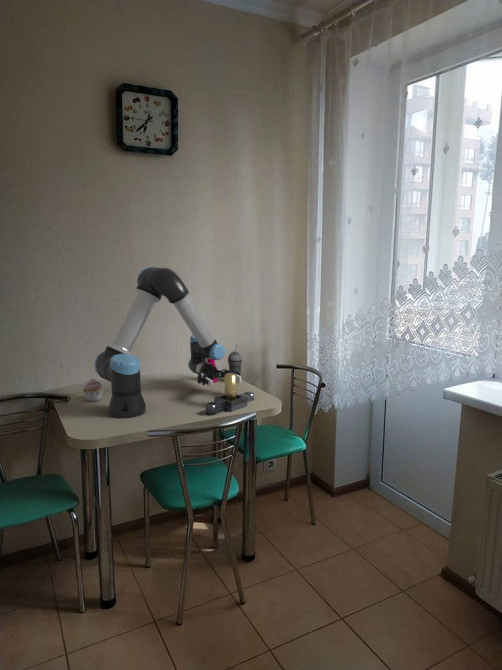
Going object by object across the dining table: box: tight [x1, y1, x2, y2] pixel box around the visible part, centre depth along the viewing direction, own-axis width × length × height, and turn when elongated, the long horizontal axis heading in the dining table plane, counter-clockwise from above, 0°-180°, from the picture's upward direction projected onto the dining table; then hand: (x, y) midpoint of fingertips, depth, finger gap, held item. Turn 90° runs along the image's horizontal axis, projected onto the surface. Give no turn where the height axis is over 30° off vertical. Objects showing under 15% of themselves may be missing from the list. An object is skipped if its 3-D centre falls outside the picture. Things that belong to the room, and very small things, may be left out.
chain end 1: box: [205, 393, 248, 416], centre depth 205 cm, size 19×10×4 cm, turn 139°
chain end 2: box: [226, 391, 255, 412], centre depth 212 cm, size 19×10×3 cm, turn 139°
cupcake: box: [82, 377, 106, 403], centre depth 217 cm, size 9×9×10 cm
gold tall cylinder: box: [224, 373, 238, 401], centre depth 208 cm, size 5×5×14 cm
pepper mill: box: [206, 357, 219, 384], centre depth 245 cm, size 7×7×20 cm
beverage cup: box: [227, 342, 243, 384], centre depth 244 cm, size 7×7×20 cm
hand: (226, 382), depth 211 cm, fingers open, 13 cm apart
